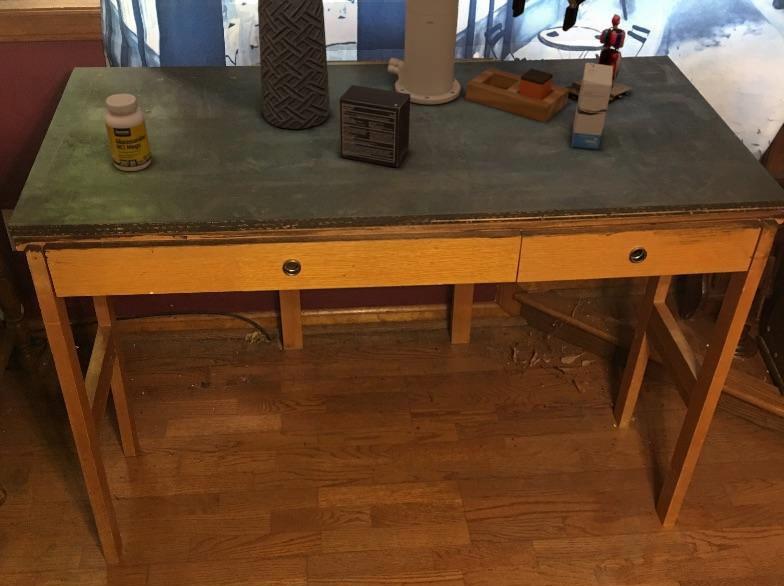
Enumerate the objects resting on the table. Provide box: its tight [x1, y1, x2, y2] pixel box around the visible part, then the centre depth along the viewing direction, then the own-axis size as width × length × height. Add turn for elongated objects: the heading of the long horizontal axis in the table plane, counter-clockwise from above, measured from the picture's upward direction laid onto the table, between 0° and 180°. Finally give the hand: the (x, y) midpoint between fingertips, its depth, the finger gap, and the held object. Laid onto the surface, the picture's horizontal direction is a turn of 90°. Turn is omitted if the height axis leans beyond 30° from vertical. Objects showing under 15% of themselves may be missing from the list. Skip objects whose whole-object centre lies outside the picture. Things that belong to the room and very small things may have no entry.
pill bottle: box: [104, 93, 152, 172], centre depth 139 cm, size 6×6×11 cm
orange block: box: [519, 68, 554, 100], centre depth 159 cm, size 4×4×6 cm
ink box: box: [571, 62, 613, 150], centre depth 148 cm, size 8×5×12 cm, turn 168°
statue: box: [566, 13, 633, 102], centre depth 162 cm, size 11×9×15 cm
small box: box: [339, 84, 411, 168], centre depth 143 cm, size 11×6×10 cm, turn 71°
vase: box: [257, 0, 331, 130], centre depth 147 cm, size 12×12×28 cm
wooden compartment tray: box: [465, 67, 569, 123], centre depth 162 cm, size 9×17×3 cm, turn 56°
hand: (542, 22), depth 151 cm, fingers open, 9 cm apart
